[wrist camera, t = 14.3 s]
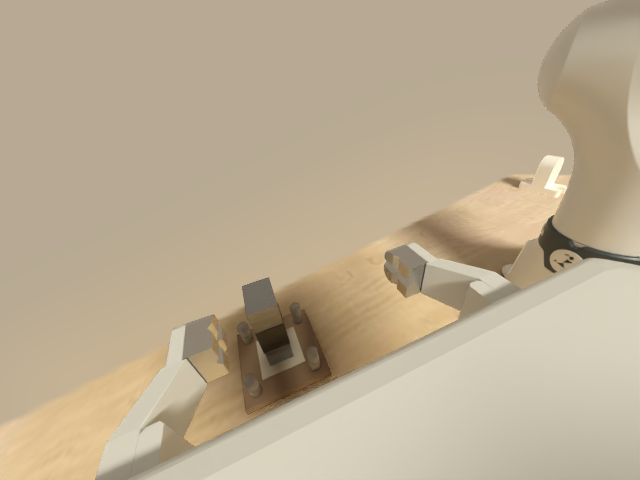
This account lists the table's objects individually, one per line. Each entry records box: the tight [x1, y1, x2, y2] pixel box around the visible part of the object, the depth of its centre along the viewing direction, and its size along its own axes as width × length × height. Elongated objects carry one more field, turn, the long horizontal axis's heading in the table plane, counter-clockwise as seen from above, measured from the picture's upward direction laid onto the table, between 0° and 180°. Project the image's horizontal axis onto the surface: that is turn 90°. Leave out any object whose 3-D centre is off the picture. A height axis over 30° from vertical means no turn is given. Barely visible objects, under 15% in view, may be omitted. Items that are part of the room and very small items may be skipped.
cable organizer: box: [518, 155, 567, 197], centre depth 69 cm, size 5×10×10 cm, turn 30°
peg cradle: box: [237, 303, 331, 414], centre depth 36 cm, size 12×12×5 cm
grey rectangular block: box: [242, 278, 293, 366], centre depth 33 cm, size 4×5×13 cm
